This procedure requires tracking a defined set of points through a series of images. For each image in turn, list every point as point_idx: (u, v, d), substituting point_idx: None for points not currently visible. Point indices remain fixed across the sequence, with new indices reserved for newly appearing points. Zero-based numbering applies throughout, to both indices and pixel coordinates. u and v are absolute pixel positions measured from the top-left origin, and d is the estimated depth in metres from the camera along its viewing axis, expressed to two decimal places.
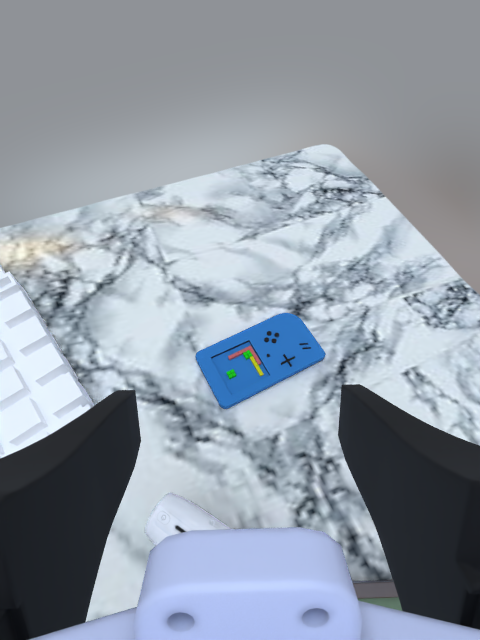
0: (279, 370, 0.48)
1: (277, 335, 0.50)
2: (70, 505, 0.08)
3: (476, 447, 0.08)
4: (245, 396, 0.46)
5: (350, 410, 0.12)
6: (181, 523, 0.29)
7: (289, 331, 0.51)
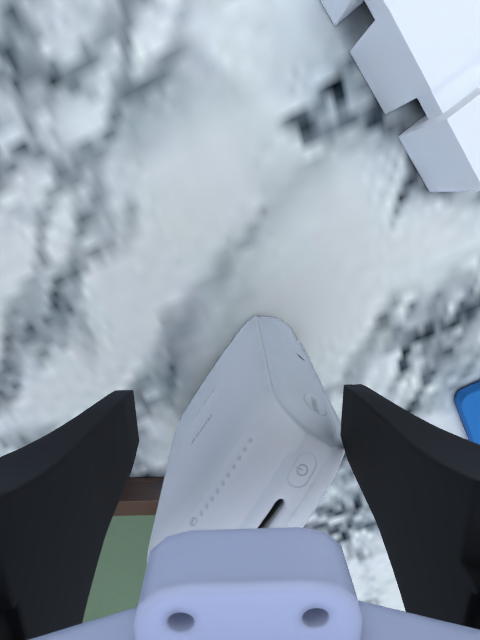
0: None
1: None
2: (67, 506, 0.08)
3: (479, 447, 0.08)
4: (473, 436, 0.25)
5: (352, 410, 0.12)
6: (287, 516, 0.12)
7: None
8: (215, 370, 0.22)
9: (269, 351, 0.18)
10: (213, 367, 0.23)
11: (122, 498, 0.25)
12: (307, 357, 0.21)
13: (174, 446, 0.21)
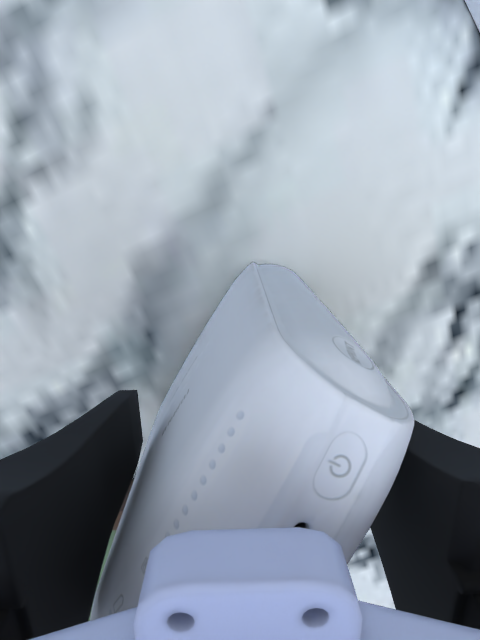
0: None
1: None
2: (73, 506, 0.08)
3: (469, 447, 0.08)
4: None
5: None
6: None
7: None
8: (200, 337, 0.16)
9: (272, 292, 0.12)
10: None
11: None
12: None
13: (147, 442, 0.15)
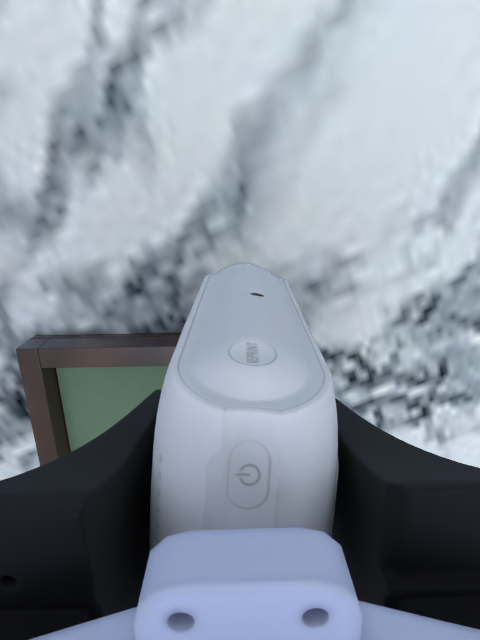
0: None
1: None
2: (131, 503, 0.08)
3: (413, 449, 0.08)
4: None
5: None
6: None
7: None
8: None
9: (207, 307, 0.12)
10: None
11: None
12: (287, 291, 0.15)
13: None
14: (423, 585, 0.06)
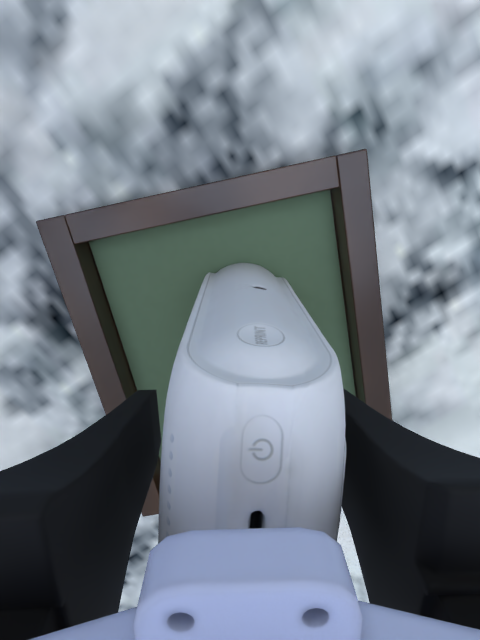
0: None
1: None
2: (104, 505, 0.08)
3: (442, 448, 0.08)
4: None
5: None
6: None
7: None
8: None
9: (210, 300, 0.12)
10: None
11: None
12: (288, 287, 0.15)
13: None
14: (462, 584, 0.06)
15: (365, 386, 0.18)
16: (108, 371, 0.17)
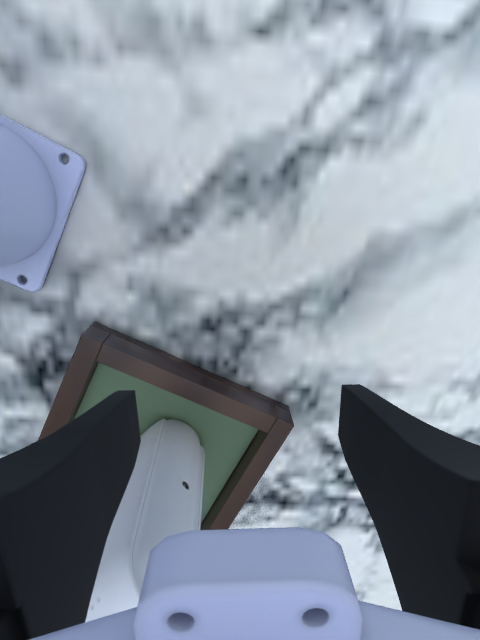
0: None
1: None
2: (70, 506, 0.08)
3: (476, 447, 0.08)
4: None
5: (350, 410, 0.12)
6: None
7: None
8: None
9: (155, 478, 0.19)
10: None
11: (232, 396, 0.23)
12: (202, 470, 0.23)
13: None
14: None
15: None
16: None
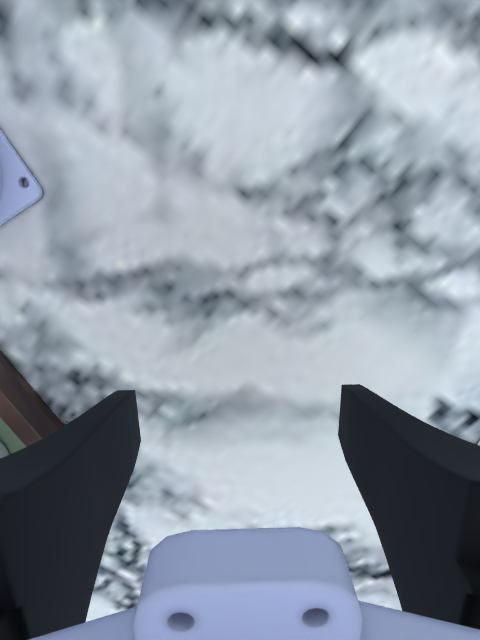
0: None
1: None
2: (70, 506, 0.08)
3: (476, 447, 0.08)
4: None
5: (350, 410, 0.12)
6: None
7: None
8: None
9: None
10: None
11: None
12: None
13: None
14: None
15: None
16: None
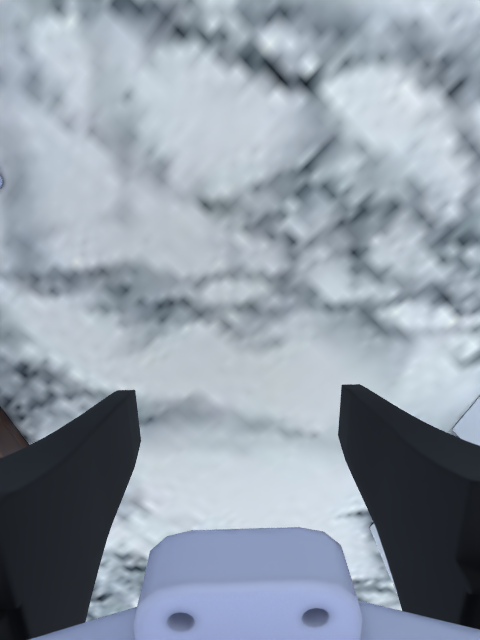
0: None
1: None
2: (70, 506, 0.08)
3: (476, 447, 0.08)
4: None
5: (350, 410, 0.12)
6: None
7: None
8: None
9: None
10: None
11: None
12: None
13: None
14: None
15: None
16: None
